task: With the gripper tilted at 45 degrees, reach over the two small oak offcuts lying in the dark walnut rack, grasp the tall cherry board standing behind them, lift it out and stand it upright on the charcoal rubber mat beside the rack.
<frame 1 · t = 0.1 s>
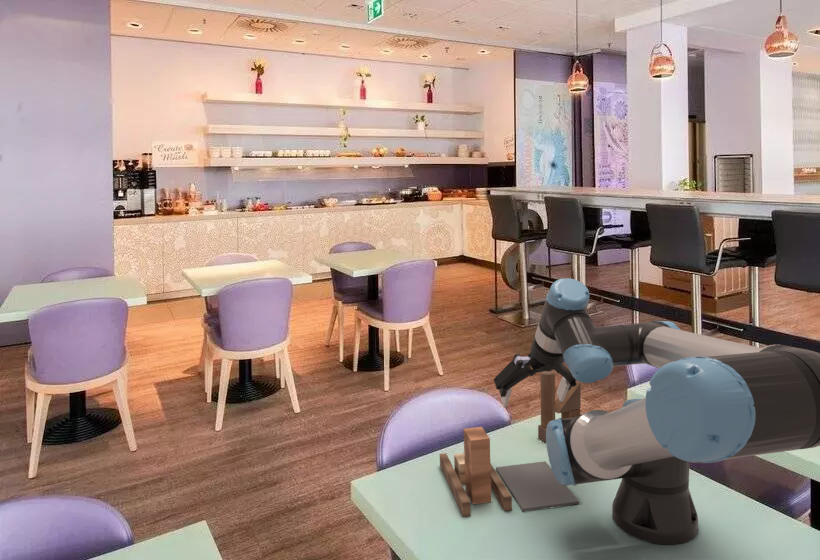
hand: (531, 399, 136), 15 cm above the table, tool tilted 35°, fingers open, 13 cm apart
rack: (473, 486, 129), on the table
offcut lower: (468, 478, 133), on the table, touching offcut upper
mat: (534, 485, 128), on the table
brown wooden forked piece: (559, 437, 151), on the table
offcut upper: (468, 468, 132), point 2 cm above the table, touching offcut lower
tall board: (478, 495, 125), on the table
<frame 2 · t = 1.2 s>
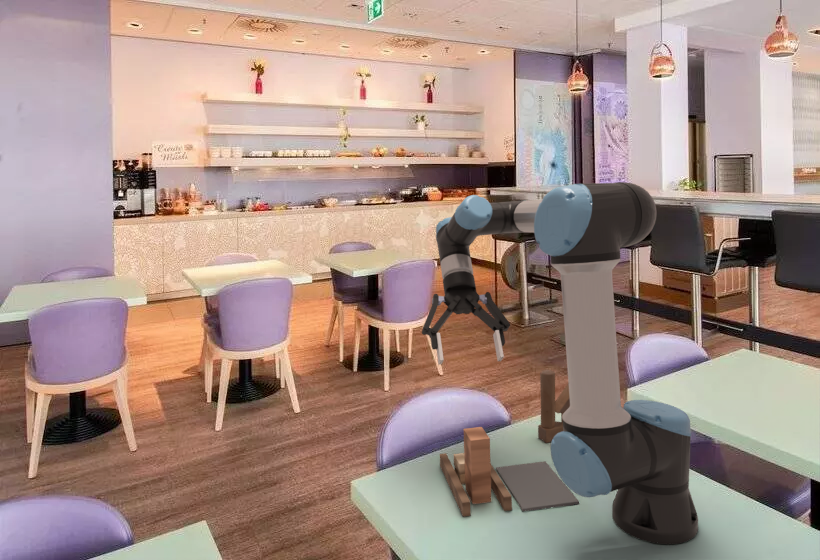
hand: (471, 360, 130), 27 cm above the table, tool tilted 40°, fingers open, 13 cm apart
nothing on the table moved.
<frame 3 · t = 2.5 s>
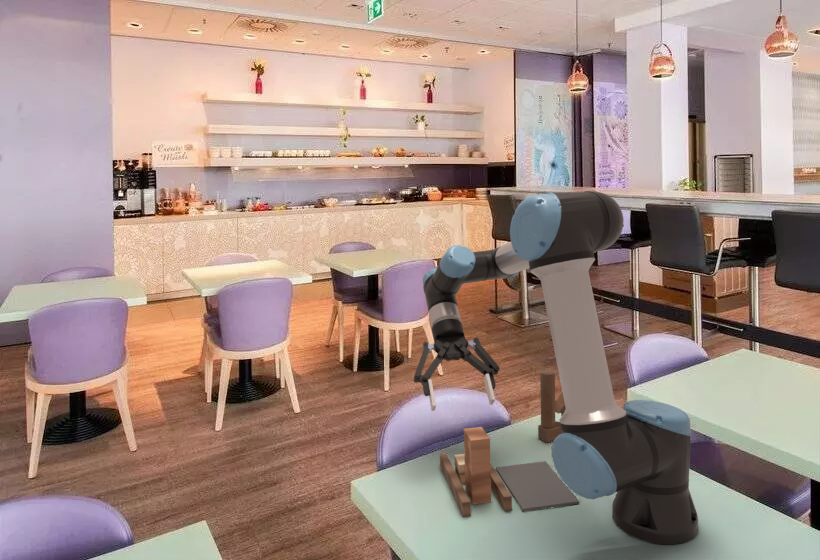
hand: (463, 405, 132), 16 cm above the table, tool tilted 45°, fingers open, 13 cm apart
nothing on the table moved.
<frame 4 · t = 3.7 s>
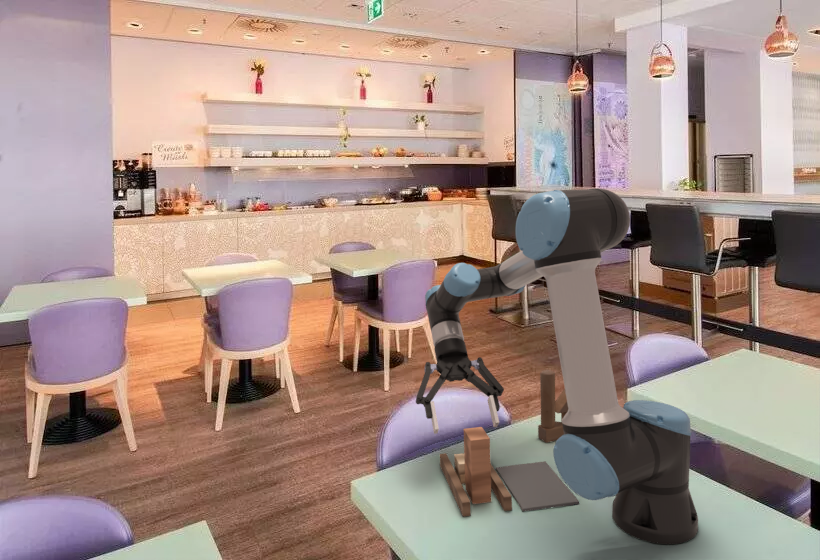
hand: (466, 428, 129), 12 cm above the table, tool tilted 45°, fingers open, 13 cm apart
nothing on the table moved.
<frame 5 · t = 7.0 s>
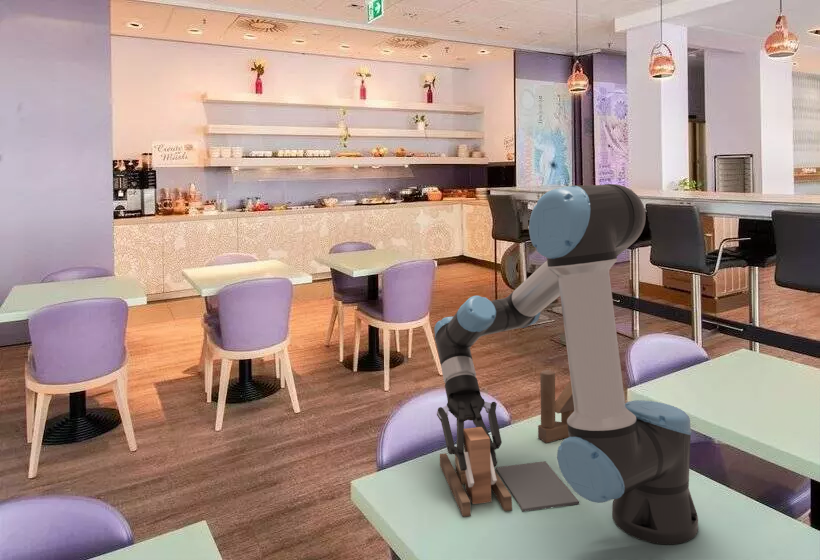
hand: (482, 483, 120), 5 cm above the table, tool tilted 45°, fingers closed on tall board, 4 cm apart
tall board: (478, 495, 125), on the table, touching gripper
everything else where it was.
when the fingers open (6 cm above the table, at t = 14.1 s): tall board stays where it is, resting on mat.
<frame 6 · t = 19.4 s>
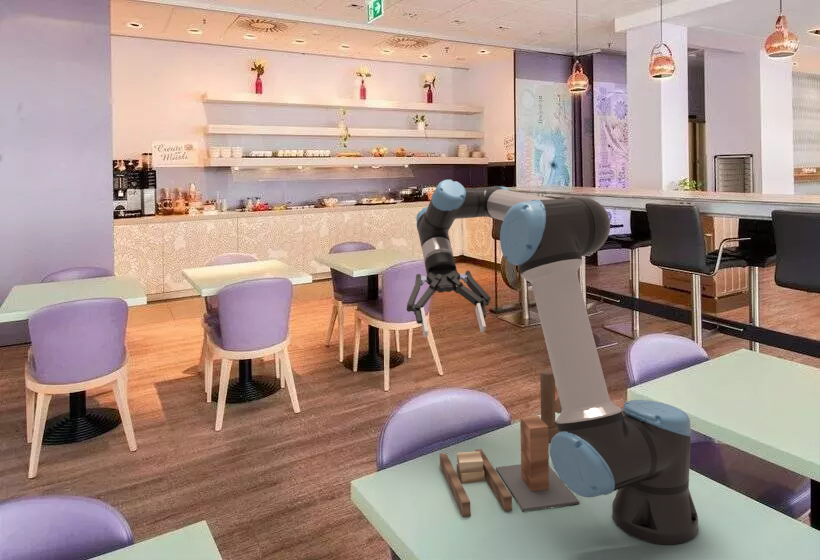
hand: (454, 332, 136), 32 cm above the table, tool tilted 45°, fingers open, 13 cm apart
tall board: (534, 483, 128), point 1 cm above the table, touching mat
everything else where it was.
at the end: tall board inside the target area on the mat (0.1 cm from its centre), point 0.6 cm above the mat's base; tall board tilted 0°; the gripper is holding nothing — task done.
